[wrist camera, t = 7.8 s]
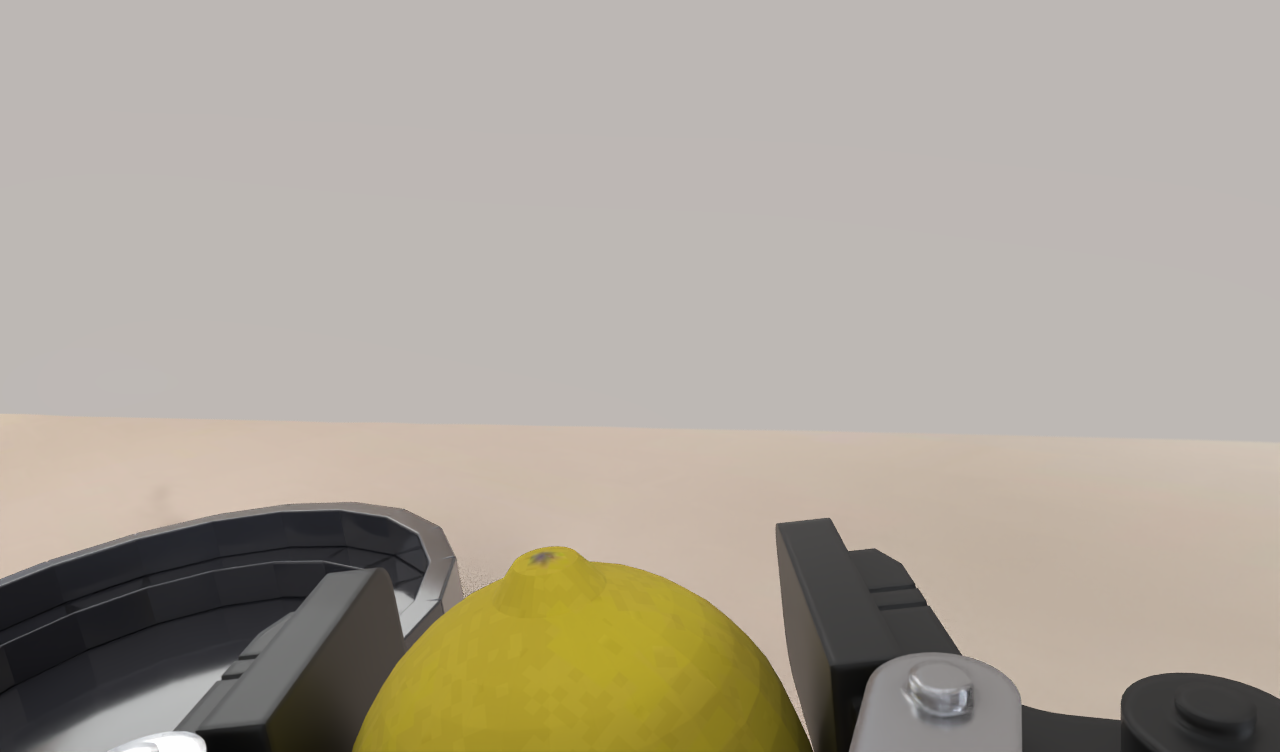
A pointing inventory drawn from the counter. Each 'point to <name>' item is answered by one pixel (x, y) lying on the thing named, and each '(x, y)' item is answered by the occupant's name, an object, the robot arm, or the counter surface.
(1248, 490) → the counter surface
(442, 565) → the pan
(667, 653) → the lemon
